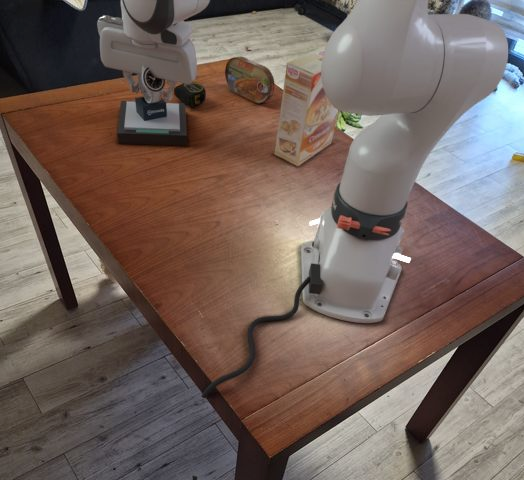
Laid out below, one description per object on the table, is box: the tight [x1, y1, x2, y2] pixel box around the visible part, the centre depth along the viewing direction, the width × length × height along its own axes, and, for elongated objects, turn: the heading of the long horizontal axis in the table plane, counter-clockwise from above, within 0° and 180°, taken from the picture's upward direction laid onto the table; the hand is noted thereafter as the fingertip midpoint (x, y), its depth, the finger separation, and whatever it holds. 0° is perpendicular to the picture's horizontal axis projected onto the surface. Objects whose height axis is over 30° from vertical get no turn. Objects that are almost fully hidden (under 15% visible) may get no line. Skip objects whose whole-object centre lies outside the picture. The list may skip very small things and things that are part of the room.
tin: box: [224, 56, 275, 104], centre depth 121 cm, size 15×3×8 cm, turn 50°
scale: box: [116, 100, 188, 147], centre depth 108 cm, size 15×15×3 cm
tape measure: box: [173, 81, 207, 108], centre depth 117 cm, size 7×7×4 cm
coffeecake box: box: [273, 44, 339, 167], centre depth 103 cm, size 15×7×20 cm, turn 143°
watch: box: [134, 66, 167, 121], centre depth 102 cm, size 6×8×11 cm
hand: (151, 95), depth 104 cm, fingers open, 6 cm apart
